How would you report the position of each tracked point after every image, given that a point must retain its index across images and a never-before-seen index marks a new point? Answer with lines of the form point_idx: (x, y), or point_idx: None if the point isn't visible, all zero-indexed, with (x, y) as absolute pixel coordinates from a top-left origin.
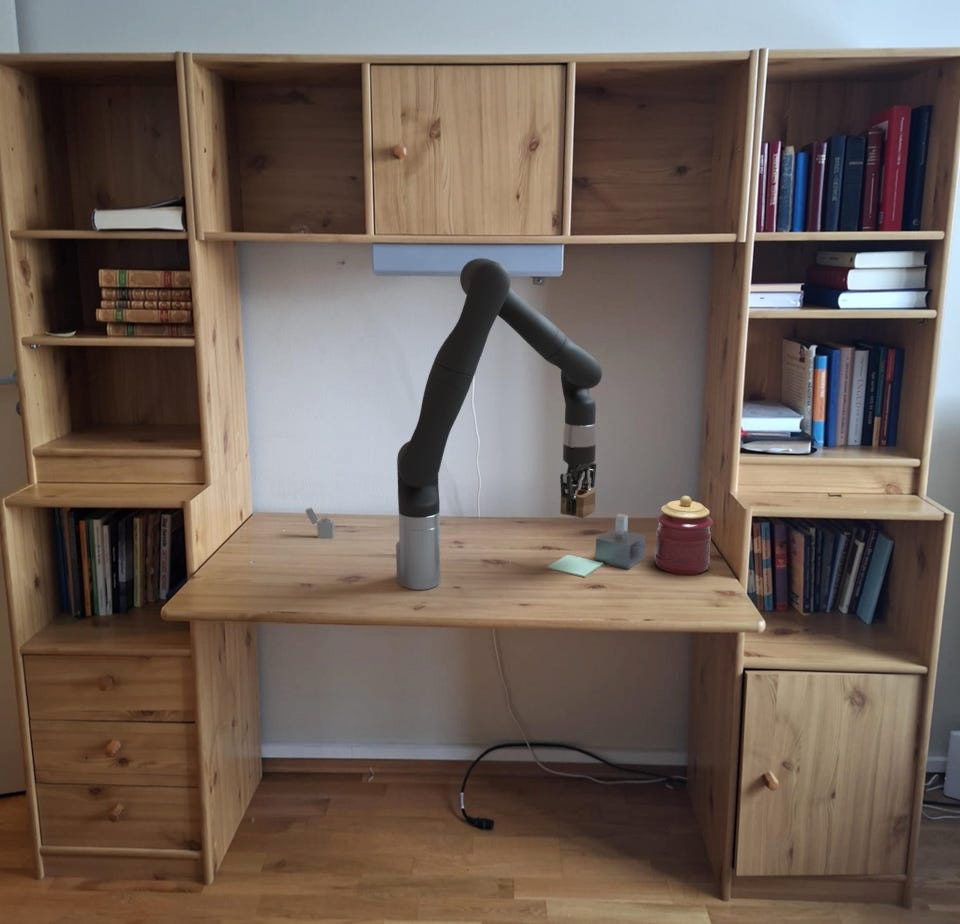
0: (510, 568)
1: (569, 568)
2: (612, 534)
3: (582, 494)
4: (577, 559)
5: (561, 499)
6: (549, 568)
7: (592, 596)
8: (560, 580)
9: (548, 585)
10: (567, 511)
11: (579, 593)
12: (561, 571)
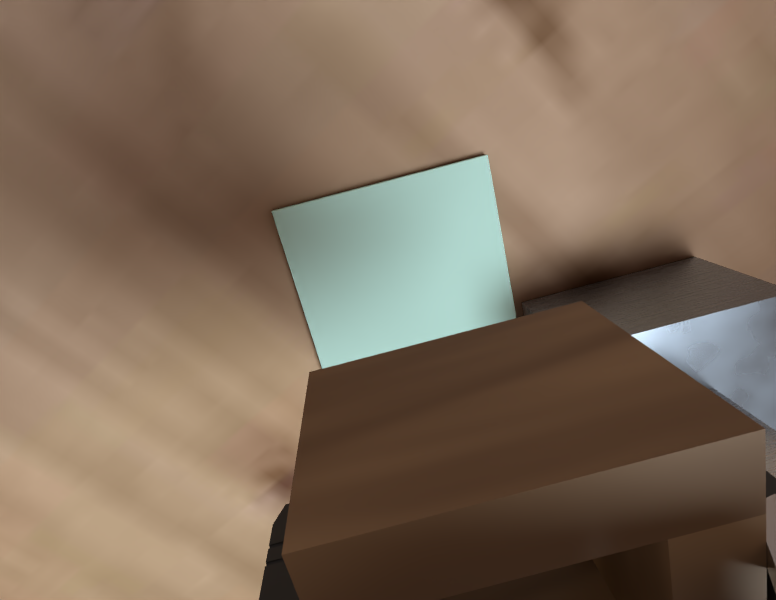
0: (101, 62)
1: (346, 298)
2: (698, 362)
3: (643, 590)
4: (470, 240)
5: (296, 487)
6: (276, 222)
7: (213, 536)
8: (220, 354)
9: (132, 361)
10: (284, 519)
11: (190, 492)
12: (297, 289)
